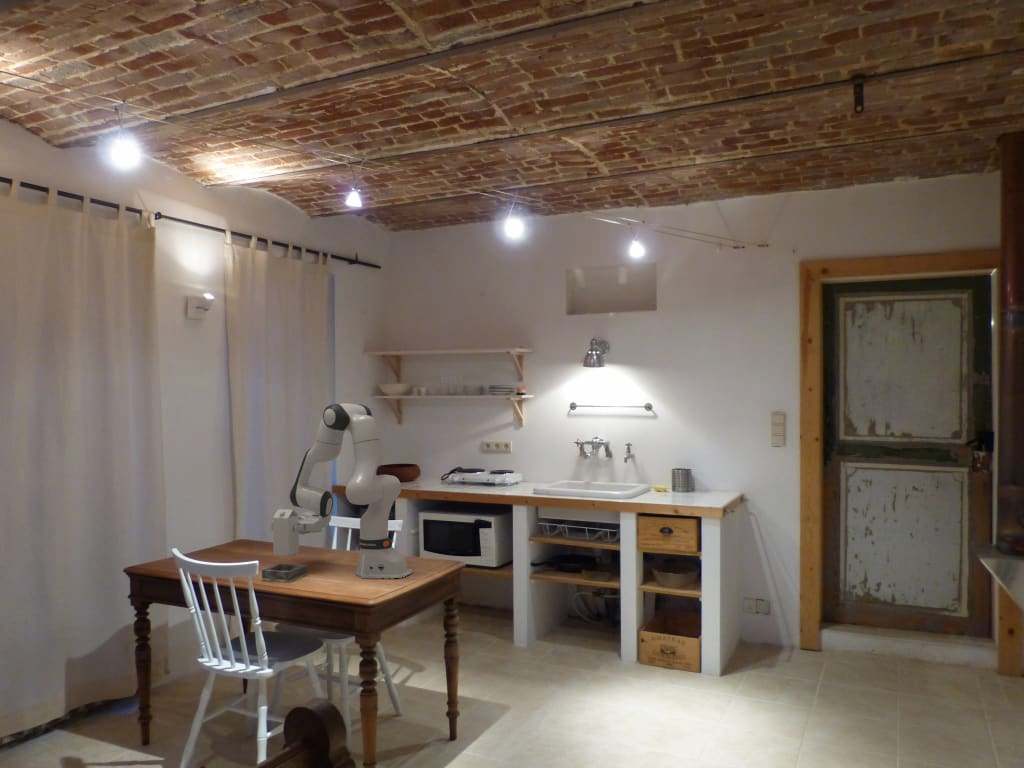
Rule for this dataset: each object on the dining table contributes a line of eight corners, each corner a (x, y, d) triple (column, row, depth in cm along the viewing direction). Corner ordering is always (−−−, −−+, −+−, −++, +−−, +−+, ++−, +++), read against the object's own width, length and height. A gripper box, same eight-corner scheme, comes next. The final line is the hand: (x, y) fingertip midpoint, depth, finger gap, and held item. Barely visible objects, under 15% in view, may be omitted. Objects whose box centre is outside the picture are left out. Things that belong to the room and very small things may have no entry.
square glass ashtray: (306, 575, 302) (306, 565, 303) (289, 582, 291) (289, 572, 291) (280, 573, 306) (280, 563, 306) (262, 580, 294) (262, 570, 294)
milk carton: (284, 552, 309) (283, 505, 309) (299, 553, 306) (298, 505, 307) (273, 555, 302) (272, 507, 302) (288, 556, 300) (287, 508, 300)
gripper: (282, 514, 320) (262, 519, 307) (325, 516, 314) (306, 521, 301) (282, 530, 320) (262, 535, 306) (325, 531, 314) (306, 537, 300)
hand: (284, 528), depth 303 cm, fingers closed on milk carton, 7 cm apart
